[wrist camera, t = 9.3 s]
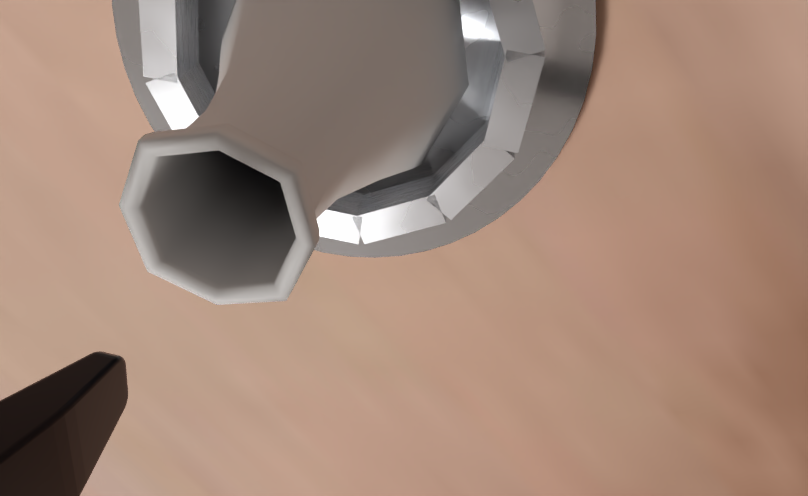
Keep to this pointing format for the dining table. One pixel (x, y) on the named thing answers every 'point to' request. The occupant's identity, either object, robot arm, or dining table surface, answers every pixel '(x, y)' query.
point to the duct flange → (455, 146)
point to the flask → (291, 137)
